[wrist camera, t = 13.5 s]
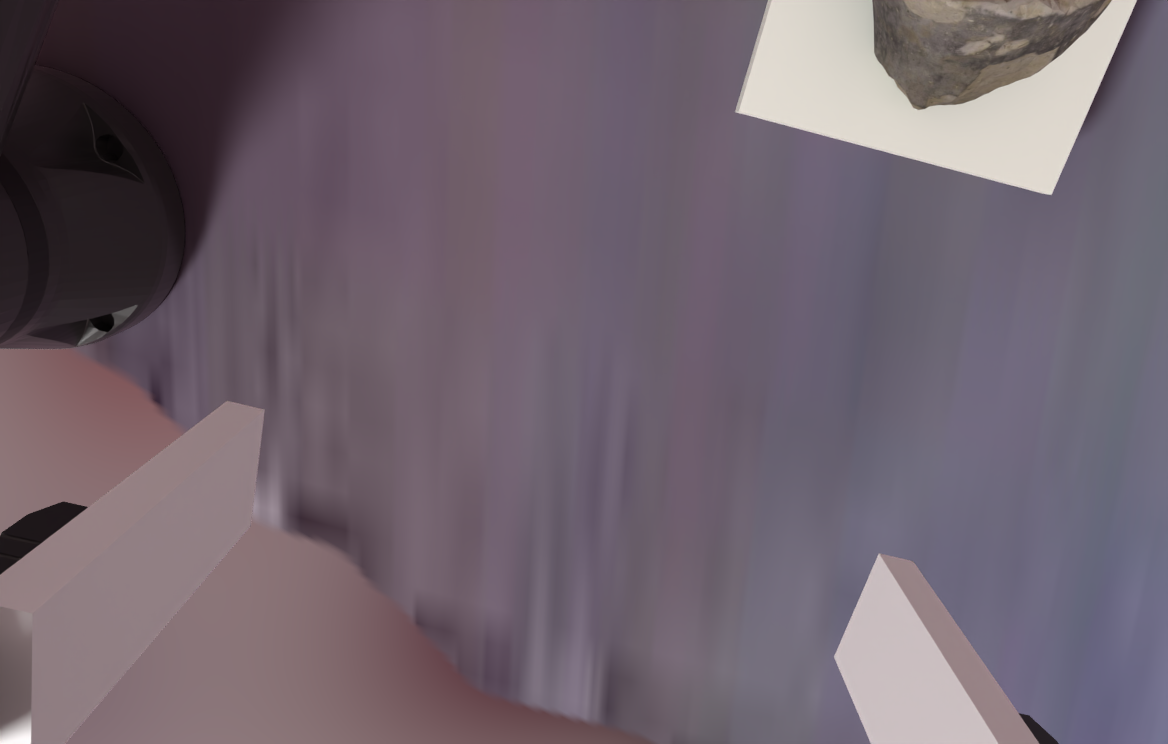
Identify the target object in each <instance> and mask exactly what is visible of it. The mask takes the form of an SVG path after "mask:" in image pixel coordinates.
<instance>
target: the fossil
mask: <svg viewBox="0 0 1168 744" xmlns="http://www.w3.org/2000/svg"><path fill="white" fill-rule="evenodd" d="M1111 1H1112V0H872V2H873V18H874V53H875V56H876V58H877V60H878V62H879V63H880V64H881V65H882V66H883V67H884V69H885V71H886V73H887V74H888V76H889V77H891V78H892V79H894V81H895V83H896V85H897V87H898V88H899V89H900V90H901V91H902V92H903V94H904V95H905V96H906V97H907V98H908V100H909V102H910V103H911V105H912V107H913V108H915V109H917V110H922V109H926V108H928V107H930V106H936V105H957V104H963V103H966V102H969V101H972V100H975V99H977V98H979V97H981V96H982V95H984V94H988V93H990V92H991V91H993V90H995V89H997V88H999V87H1003V86H1006V85H1009V84H1011V83H1014V82H1016V81H1018V80H1021V79H1025V78H1028V77H1031V76H1032V75H1034V74H1036V73H1038V72H1039V71H1041V70H1042V69H1043V68H1044V67H1046V66H1047V65H1048V64H1049V63H1051V62H1052V61H1053V60H1055V59H1056V58H1057V57H1059V56H1060V55H1062V54H1063V53H1064V52H1065V51H1066V50H1067V49H1068V48H1069V47H1070V46H1071V45H1072V44H1073V43H1074V42H1075V41H1076V40H1077V39H1078V38H1079V37H1080V36H1082V35H1083V34H1084V33H1085V32H1086V31H1087V30H1088V29H1089V28H1090V26H1091V25H1092V24H1093V23H1094V22H1095V21H1096V20H1097V19H1098V18H1099V17H1100V15H1101V14H1102V13H1103V12H1104V10H1105V9H1106V8H1107V7H1108V5H1109V4H1110V2H1111Z"/></svg>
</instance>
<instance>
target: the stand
mask: <svg viewBox="0 0 1168 744" xmlns="http://www.w3.org/2000/svg"><path fill="white" fill-rule="evenodd" d="M1136 1H1137V0H1112V1H1111V2H1110V4H1109V5H1108V7H1107V8H1106V9H1105V10H1104V12H1103V13H1102V14H1101V15H1100V17H1099V18H1098V19H1097V20H1096V21H1095V22H1094V23H1093V24H1092V25H1091V26H1090V28H1089V29H1088V30H1087V31H1086V32H1085V33H1084V34H1083V35H1082V36H1080V37H1079V38H1078V39H1077V40H1076V41H1075V42H1074V43H1073V44H1072V45H1071V46H1070V47H1069V48H1068V49H1067V50H1066V51H1065V52H1064V53H1063V54H1062V55H1060V56H1059V57H1057V58H1056V59H1055V60H1053V61H1052V62H1051V63H1049V64H1048V65H1047V66H1046V67H1044V68H1043V69H1042V70H1041V71H1039V72H1038V73H1036V74H1034V75H1032V76H1031V77H1028V78H1025V79H1021V80H1018V81H1016V82H1014V83H1011V84H1009V85H1006V86H1003V87H999V88H997V89H995V90H993V91H991V92H990V93H988V94H984V95H982V96H981V97H979V98H977V99H975V100H972V101H969V102H966V103H963V104H957V105H936V106H930V107H928V108H926V109H922V110H917V109H915V108H913V107H912V105H911V103H910V102H909V100H908V98H907V97H906V96H905V95H904V94H903V92H902V91H901V90H900V89H899V88H898V87H897V85H896V83H895V81H894V79H892V78H891V77H889V76H888V74H887V73H886V71H885V69H884V67H883V66H882V65H881V64H880V63H879V62H878V60H877V58H876V56H875V53H874V18H873V2H872V0H768V3H767V6H766V10H765V13H764V16H763V20H762V23H761V26H760V30H759V33H758V37H757V40H756V43H755V47H754V50H753V53H752V57H751V60H750V63H749V67H748V70H747V74H746V77H745V80H744V84H743V87H742V90H741V94H740V97H739V101H738V104H737V107H736V111H735V112H737V113H741V114H745V115H749V116H752V117H756V118H760V119H764V120H768V121H771V122H775V123H779V124H783V125H786V126H790V127H794V128H798V129H801V130H805V131H809V132H813V133H816V134H820V135H824V136H828V137H831V138H835V139H839V140H843V141H847V142H850V143H854V144H858V145H862V146H865V147H869V148H873V149H877V150H880V151H884V152H888V153H892V154H895V155H899V156H903V157H907V158H911V159H914V160H918V161H922V162H926V163H929V164H933V165H937V166H941V167H944V168H948V169H952V170H956V171H959V172H963V173H967V174H971V175H975V176H978V177H982V178H986V179H990V180H993V181H997V182H1001V183H1005V184H1008V185H1012V186H1016V187H1020V188H1023V189H1027V190H1031V191H1035V192H1039V193H1043V194H1049V195H1052V192H1053V190H1054V188H1055V185H1056V183H1057V181H1058V179H1059V176H1060V174H1061V172H1062V170H1063V167H1064V165H1065V163H1066V160H1067V158H1068V156H1069V154H1070V151H1071V149H1072V147H1073V145H1074V142H1075V140H1076V138H1077V135H1078V133H1079V131H1080V129H1081V126H1082V124H1083V122H1084V120H1085V117H1086V115H1087V113H1088V110H1089V108H1090V106H1091V104H1092V101H1093V99H1094V97H1095V95H1096V92H1097V90H1098V88H1099V85H1100V83H1101V81H1102V79H1103V76H1104V74H1105V72H1106V70H1107V67H1108V65H1109V63H1110V60H1111V58H1112V56H1113V54H1114V51H1115V49H1116V47H1117V45H1118V42H1119V40H1120V38H1121V35H1122V33H1123V31H1124V29H1125V26H1126V24H1127V22H1128V20H1129V17H1130V15H1131V13H1132V10H1133V8H1134V6H1135V4H1136Z"/></svg>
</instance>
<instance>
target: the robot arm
mask: <svg viewBox="0 0 1168 744" xmlns="http://www.w3.org/2000/svg"><path fill="white" fill-rule="evenodd" d="M58 1H59V0H0V348H1V349H66V348H74V347H80V346H84V345H88V344H93V343H96V342H99V341H102V340H104V339H106V338H108V337H111V336H113V335H115V334H117V333H120V332H122V331H124V330H126V329H129V328H130V327H132V326H134V325H136V324H138V323H139V322H141V321H142V320H144V319H145V318H146V317H147V316H149V315H150V314H151V313H152V312H153V311H154V310H155V309H156V308H157V307H158V306H159V305H160V304H161V303H162V301H163V300H164V299H165V297H166V296H167V294H168V293H169V291H170V289H171V288H172V286H173V284H174V282H175V280H176V277H177V274H178V272H179V269H180V265H181V262H182V257H183V252H184V243H185V222H184V213H183V207H182V202H181V198H180V194H179V191H178V188H177V185H176V182H175V179H174V177H173V174H172V172H171V170H170V168H169V165H168V163H167V161H166V159H165V158H164V156H163V154H162V152H161V151H160V149H159V148H158V146H157V145H156V143H155V141H154V140H153V139H152V137H151V136H150V135H149V133H148V132H147V131H146V130H145V128H144V127H143V126H142V125H141V124H140V123H139V122H138V120H137V119H136V118H135V117H134V116H133V115H132V114H131V113H130V112H129V111H127V110H126V109H125V108H124V107H123V106H122V105H121V104H120V103H118V102H117V101H116V100H115V99H113V98H112V97H111V96H109V95H108V94H106V93H105V92H103V91H102V90H100V89H99V88H97V87H95V86H94V85H92V84H90V83H88V82H86V81H84V80H82V79H80V78H78V77H76V76H73V75H71V74H68V73H65V72H63V71H59V70H56V69H53V68H48V67H44V66H38V65H35V63H36V60H37V57H38V54H39V52H40V49H41V46H42V44H43V41H44V38H45V36H46V33H47V30H48V28H49V25H50V22H51V20H52V17H53V14H54V12H55V9H56V6H57V4H58ZM264 411H265V410H264V409H259V408H255V407H251V406H246V405H242V404H238V403H234V402H229V401H226V402H225V403H224V404H222V405H221V406H220V407H218V408H217V409H216V410H215V411H213V412H212V413H211V414H209V415H208V416H207V417H205V418H204V419H203V420H202V421H200V422H199V423H198V424H196V425H195V426H194V427H192V428H191V429H190V430H188V431H187V432H186V433H185V434H183V435H182V436H181V437H179V438H178V439H177V440H175V441H174V442H173V443H172V444H170V445H169V446H168V447H166V448H165V449H164V450H162V451H161V452H160V453H159V454H157V455H156V456H155V457H153V458H152V459H151V460H149V461H148V462H147V463H146V464H144V465H143V466H142V467H140V468H139V469H138V470H136V471H135V472H134V473H132V474H131V475H130V476H128V477H127V478H126V479H125V480H123V481H122V482H121V483H119V484H118V485H117V486H116V487H114V488H113V489H112V490H110V491H109V492H108V493H106V494H105V495H104V496H102V497H101V498H100V499H98V500H97V501H96V502H95V503H93V504H92V505H91V506H89V507H85V506H81V505H76V504H72V503H67V502H61V503H58V504H55V505H52V506H50V507H47V508H44V509H41V510H39V511H36V512H33V513H30V514H28V515H26V516H25V517H23V518H22V519H21V520H19V521H18V522H16V523H15V524H13V525H12V526H11V527H9V528H8V529H6V530H5V531H3V532H2V533H1V536H0V744H65V743H66V742H67V741H68V740H69V739H70V737H71V736H72V735H73V734H74V733H75V732H76V730H77V729H78V728H79V727H80V726H81V724H82V723H83V722H84V721H85V720H86V719H87V717H88V716H89V715H90V714H91V713H92V712H93V710H94V709H95V708H96V707H97V705H98V704H99V703H100V702H101V701H102V700H103V699H104V698H105V696H106V695H107V694H108V693H109V692H110V690H111V689H112V688H113V687H114V686H115V685H116V683H117V682H118V681H119V680H120V678H122V676H123V675H124V674H125V673H126V672H127V671H128V669H129V668H130V667H131V666H132V665H133V663H134V662H135V661H136V660H137V659H138V658H139V656H140V655H141V654H142V653H143V652H144V651H145V649H146V648H147V647H148V646H149V645H150V643H151V642H152V641H153V640H154V639H155V638H156V637H157V635H158V634H159V633H160V632H161V631H162V629H163V628H164V627H165V626H166V625H167V624H168V622H169V621H170V620H171V619H172V617H174V615H175V614H176V613H177V612H178V611H179V609H180V608H181V607H182V606H183V605H184V604H185V602H186V601H187V600H188V599H189V598H190V597H191V595H192V594H193V593H194V592H195V591H196V590H197V588H198V587H199V586H200V585H201V584H202V583H203V581H204V580H205V579H206V578H207V577H208V575H209V574H210V573H211V572H212V571H213V569H214V568H215V567H216V566H217V565H218V564H219V563H220V561H221V560H222V559H223V558H224V557H225V556H226V554H227V553H228V552H229V551H230V550H231V548H232V547H233V546H234V545H235V544H236V543H237V541H238V540H239V539H240V538H241V537H242V536H243V534H244V533H245V532H246V531H247V530H248V529H249V527H250V526H251V520H252V512H253V503H254V495H255V487H256V478H257V470H258V462H259V453H260V445H261V437H262V428H263V420H264ZM834 658H835V660H836V663H837V665H838V667H839V670H840V672H841V674H842V677H843V679H844V681H845V684H846V686H847V688H848V691H849V693H850V695H851V698H852V700H853V702H854V705H855V707H856V710H857V712H858V714H859V717H860V719H861V721H862V724H863V726H864V728H865V731H866V733H867V735H868V738H869V740H870V742H871V744H1058V742H1057V741H1056V740H1055V739H1054V738H1053V737H1052V736H1051V735H1050V734H1048V733H1047V732H1046V731H1045V730H1044V729H1043V728H1042V727H1041V726H1040V725H1039V724H1038V723H1037V722H1035V721H1034V720H1033V719H1032V718H1031V717H1030V716H1029V715H1024V714H1020V713H1018V712H1017V711H1016V709H1015V708H1014V706H1013V705H1012V703H1011V702H1010V701H1009V699H1008V698H1007V696H1006V695H1005V693H1004V692H1003V690H1002V689H1001V688H1000V686H999V685H998V683H997V682H996V680H995V679H994V677H993V676H992V675H991V673H990V672H989V670H988V669H987V667H986V666H985V664H984V663H983V662H982V660H981V659H980V657H979V656H978V654H977V653H976V651H975V650H974V649H973V647H972V646H971V644H970V643H969V641H968V640H967V638H966V637H965V636H964V634H963V633H962V631H961V630H960V628H959V627H958V626H957V624H956V623H955V621H954V620H953V618H952V617H951V615H950V614H949V613H948V611H947V610H946V608H945V607H944V605H943V604H942V602H941V601H940V600H939V598H938V597H937V595H936V594H935V592H934V591H933V589H932V588H931V587H930V585H929V584H928V582H927V581H926V579H925V578H924V576H923V575H922V574H921V572H920V571H919V569H918V568H917V566H916V565H915V564H914V562H913V561H909V560H905V559H901V558H896V557H892V556H888V555H883V554H879V555H878V557H877V559H876V561H875V564H874V566H873V568H872V571H871V573H870V575H869V578H868V580H867V582H866V585H865V587H864V589H863V592H862V594H861V596H860V598H859V601H858V603H857V605H856V608H855V610H854V612H853V615H852V617H851V619H850V622H849V624H848V626H847V629H846V631H845V633H844V635H843V638H842V640H841V642H840V645H839V647H838V649H837V652H836V654H835V656H834Z"/></svg>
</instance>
